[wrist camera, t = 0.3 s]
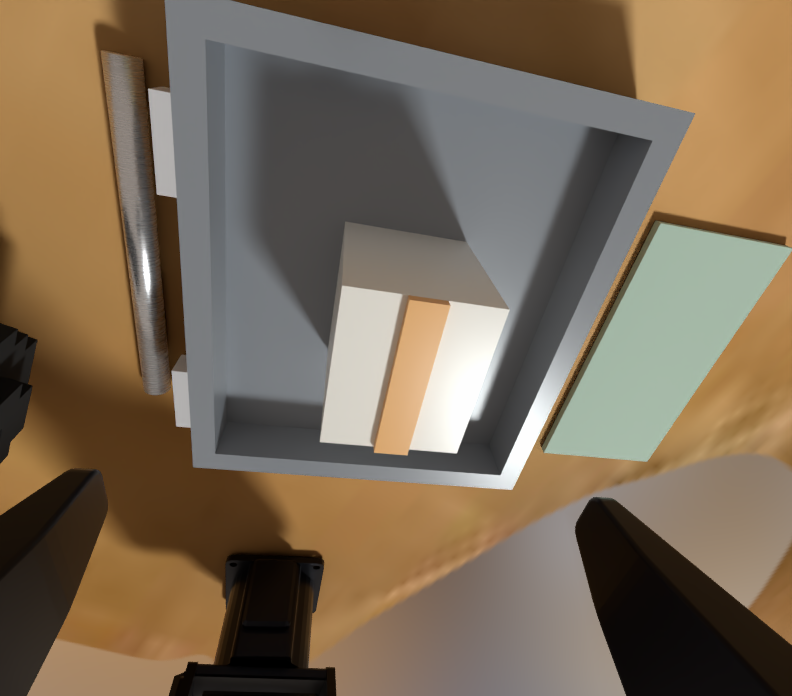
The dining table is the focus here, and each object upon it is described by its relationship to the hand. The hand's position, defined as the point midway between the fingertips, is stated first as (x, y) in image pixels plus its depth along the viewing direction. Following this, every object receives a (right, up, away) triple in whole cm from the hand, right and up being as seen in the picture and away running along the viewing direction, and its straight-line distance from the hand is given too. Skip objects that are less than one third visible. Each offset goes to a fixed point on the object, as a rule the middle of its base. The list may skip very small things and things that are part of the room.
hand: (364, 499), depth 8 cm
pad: (+14, +2, +16) cm, 21 cm away
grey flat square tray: (0, +6, +12) cm, 13 cm away
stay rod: (-10, +7, +11) cm, 16 cm away
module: (0, +5, +11) cm, 12 cm away
